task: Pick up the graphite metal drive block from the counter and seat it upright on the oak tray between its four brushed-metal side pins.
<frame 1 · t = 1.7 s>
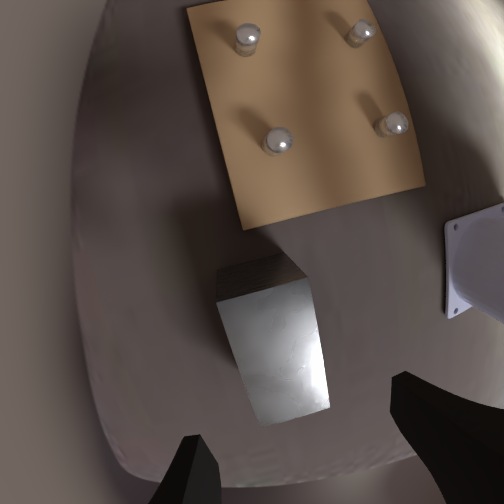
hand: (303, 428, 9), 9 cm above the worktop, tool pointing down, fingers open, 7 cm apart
drive: (266, 320, 18), on the worktop
pin tray: (312, 90, 15), on the worktop
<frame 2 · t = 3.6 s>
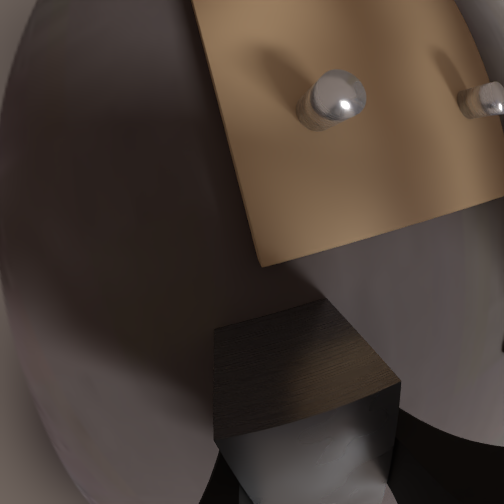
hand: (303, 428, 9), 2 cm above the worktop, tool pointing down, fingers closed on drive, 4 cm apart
drive: (291, 396, 11), on the worktop, touching gripper
pin tray: (367, 38, 8), on the worktop
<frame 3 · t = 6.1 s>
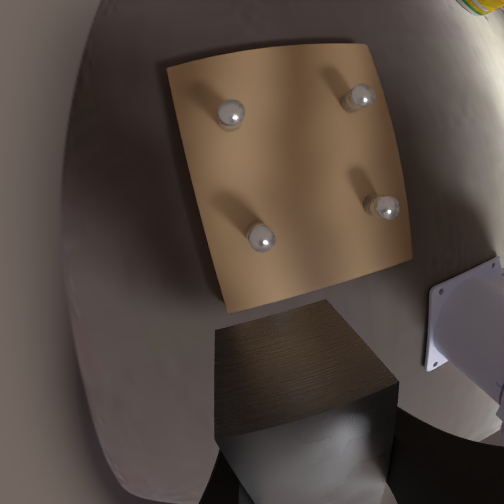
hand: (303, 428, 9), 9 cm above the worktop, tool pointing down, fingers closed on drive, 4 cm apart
drive: (291, 396, 11), point 7 cm above the worktop, touching gripper
pin tray: (301, 164, 16), on the worktop
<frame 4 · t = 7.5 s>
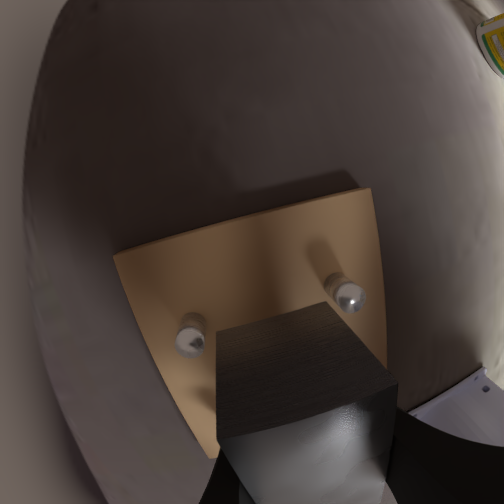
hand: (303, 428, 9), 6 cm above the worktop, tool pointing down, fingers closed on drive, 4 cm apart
drive: (291, 397, 11), point 4 cm above the worktop, touching gripper
supplement bottle: (493, 53, 12), on the worktop
pin tray: (275, 347, 15), on the worktop
when the fingers open (4 cm above the worktop, at t = 8.7 s): drive drops 1 cm, resting on pin tray.
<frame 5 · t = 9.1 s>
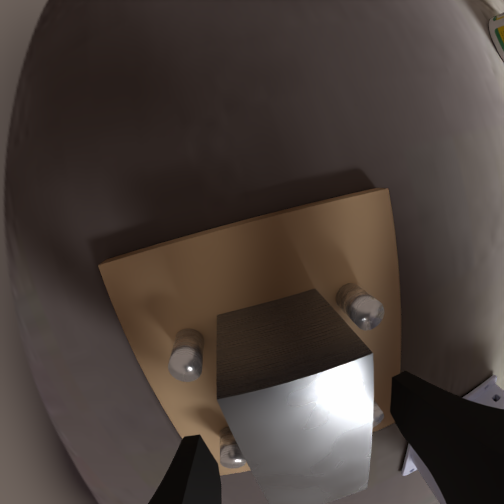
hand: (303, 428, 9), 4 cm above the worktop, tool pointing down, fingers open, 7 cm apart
drive: (285, 379, 12), point 1 cm above the worktop, touching pin tray
pin tray: (280, 364, 13), on the worktop
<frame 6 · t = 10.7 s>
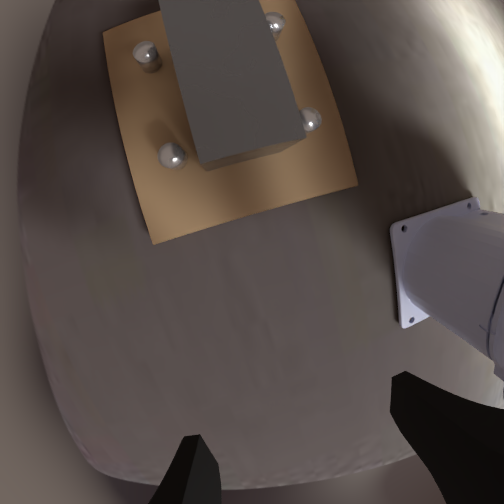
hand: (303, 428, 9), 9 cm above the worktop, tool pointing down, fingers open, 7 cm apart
drive: (224, 93, 14), point 1 cm above the worktop, touching pin tray
pin tray: (223, 96, 15), on the worktop
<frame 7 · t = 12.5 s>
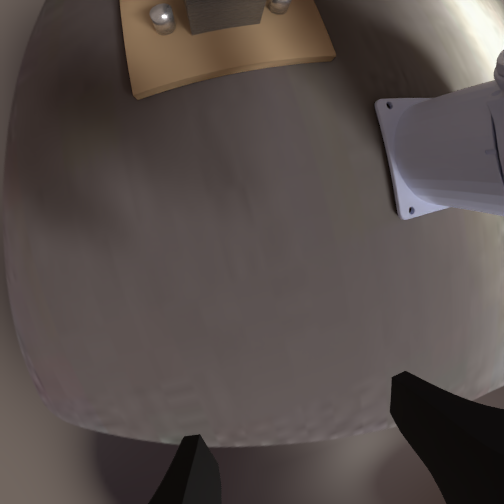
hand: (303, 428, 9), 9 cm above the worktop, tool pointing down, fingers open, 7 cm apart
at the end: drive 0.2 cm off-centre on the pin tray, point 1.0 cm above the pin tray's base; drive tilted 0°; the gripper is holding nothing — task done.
